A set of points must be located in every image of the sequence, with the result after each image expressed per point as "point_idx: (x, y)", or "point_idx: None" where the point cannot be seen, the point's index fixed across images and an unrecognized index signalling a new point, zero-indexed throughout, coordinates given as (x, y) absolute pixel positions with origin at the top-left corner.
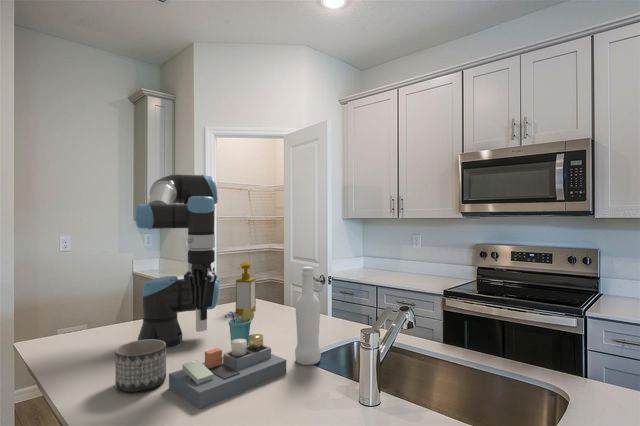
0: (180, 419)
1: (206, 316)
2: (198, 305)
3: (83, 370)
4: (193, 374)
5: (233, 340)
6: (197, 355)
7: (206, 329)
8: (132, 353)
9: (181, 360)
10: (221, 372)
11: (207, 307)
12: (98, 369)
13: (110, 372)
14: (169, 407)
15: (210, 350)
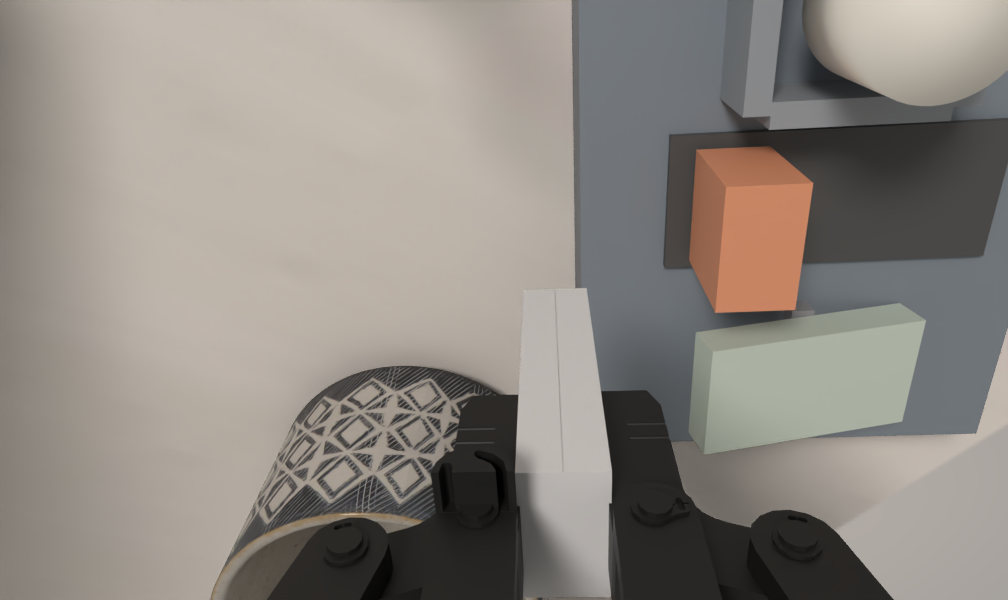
0: (921, 469)
1: (662, 425)
2: (521, 598)
3: (46, 581)
4: (842, 430)
5: (869, 53)
6: (136, 10)
7: (587, 296)
8: (268, 584)
9: (180, 159)
10: (880, 219)
11: (736, 537)
12: (69, 537)
13: (149, 512)
14: (776, 460)
15: (732, 265)
